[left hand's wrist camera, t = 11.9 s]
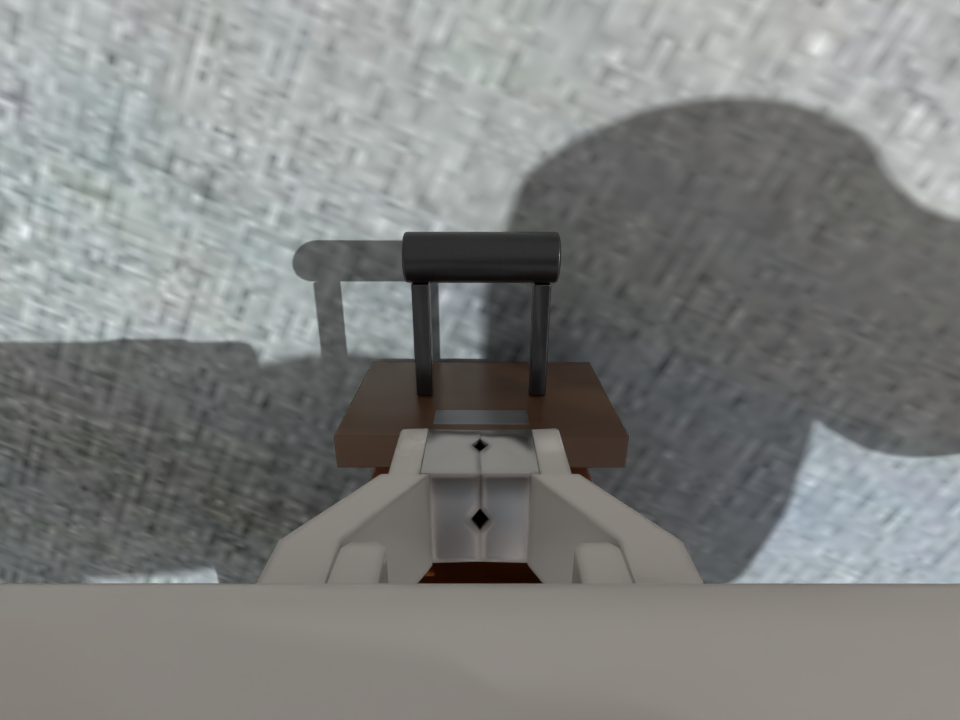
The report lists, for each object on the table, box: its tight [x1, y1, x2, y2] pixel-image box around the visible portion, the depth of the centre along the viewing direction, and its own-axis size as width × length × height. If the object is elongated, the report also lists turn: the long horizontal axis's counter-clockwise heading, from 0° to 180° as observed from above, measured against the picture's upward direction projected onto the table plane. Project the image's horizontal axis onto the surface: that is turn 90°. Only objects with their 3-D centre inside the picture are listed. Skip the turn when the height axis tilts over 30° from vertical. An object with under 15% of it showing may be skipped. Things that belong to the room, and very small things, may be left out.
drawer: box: [334, 232, 629, 584], centre depth 22 cm, size 24×10×6 cm, turn 0°
